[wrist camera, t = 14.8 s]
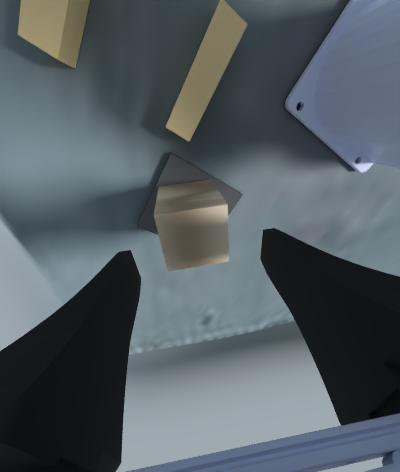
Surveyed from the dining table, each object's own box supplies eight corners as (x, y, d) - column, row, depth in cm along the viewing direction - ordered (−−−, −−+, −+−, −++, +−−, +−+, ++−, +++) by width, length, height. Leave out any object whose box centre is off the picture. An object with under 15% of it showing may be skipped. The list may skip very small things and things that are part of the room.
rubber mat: (240, 192, 16) (242, 194, 16) (201, 248, 19) (202, 252, 18) (171, 151, 14) (171, 153, 13) (138, 222, 16) (137, 226, 16)
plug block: (211, 179, 15) (227, 204, 10) (214, 225, 17) (228, 261, 12) (158, 186, 14) (153, 215, 10) (168, 232, 16) (168, 271, 12)
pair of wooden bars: (235, 38, 11) (247, 24, 9) (186, 139, 13) (189, 142, 12) (68, -121, 8) (39, -187, 6) (42, 48, 10) (17, 34, 9)
